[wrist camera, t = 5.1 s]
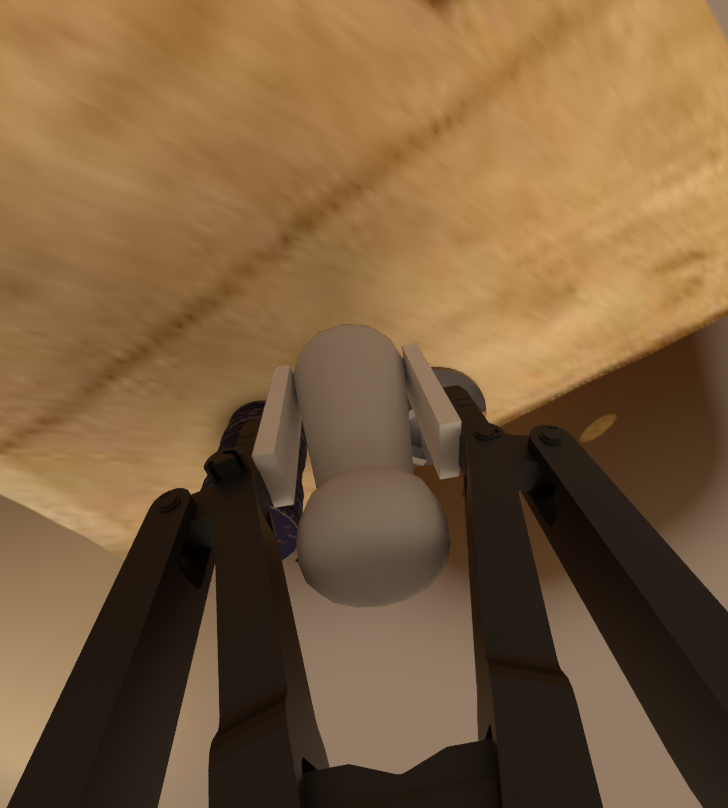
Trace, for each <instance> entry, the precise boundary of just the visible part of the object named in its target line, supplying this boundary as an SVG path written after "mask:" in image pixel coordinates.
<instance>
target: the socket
mask: <svg viewBox="0 0 728 808" xmlns="http://www.w3.org/2000/svg"><path fill="white" fill-rule="evenodd" d="M431 369H432V371H433V372H434V374H435V376H436V378H437V379H438V381H439V383H440V385H441V386H442V388H443V387H449V386H455V385H459V386H460V387H462V388H464V389H465V390H467V392H468V393H469V395H470V396H471V398H472V399H473V400H474V402H475V404H476V405H477V406H478V408H479V409H480V411H481V412H482V414H483V415H484V417H485V416H486V412H487V411H486V405H485V400H484V397H483V394H482V393H481V391H480V389H479V388H478V386H477V385H476V384H475V383H474V382H473V381H472V380H471V379H470V378H469V377H468V376H466V375H464V374H463V373H461V372H458V371H456V370H452V369H449V368H442V367H431ZM407 400H408V412H409V424H410V435H411V447H412V459H413V466H423V465H431V464H434V463H433V460H432V458H431V455H430V453H429V450H428V447H427V445H426V442H425V440H424V437H423V435H422V432H421V429H420V427H419V424H418V422H417V419H416V417H415V414H414V411H413V409H412V406H411V404H410V401H409V399H408V396H407Z"/></svg>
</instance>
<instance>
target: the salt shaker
mask: <svg viewBox="0 0 728 808" xmlns="http://www.w3.org/2000/svg"><path fill="white" fill-rule="evenodd" d="M293 380H294V384H295V389H296V394H297V398H298V403H299V408H300V413H301V417H302V422H303V427H304V431H305V436H306V441H307V446H308V450H309V455H310V460H311V464H312V469H313V474H314V479H315V483H316V488H317V489H316V490H315V491H314V492H313V493H312V494H311V496H310V498H309V500H308V502H307V505H306V507H305V509H304V512H303V514H302V516H301V519H300V521H299V526H298V533H297V539H296V545H297V552H298V561H299V566H300V568H301V571H302V573H303V576H304V578H305V581H306V582H307V583H308V584H309V585H310V586H311V587H312V588H313V589H315V590H316V591H317V592H319V593H320V594H321V595H323V596H324V597H326V598H327V599H329V600H330V601H332V602H333V603H337V604H342V605H347V606H352V607H379V606H385V605H389V604H393V603H397V602H400V601H404V600H408V599H409V598H411V597H413V596H415V595H417V594H419V593H420V592H422V591H424V590H426V589H428V588H429V587H430V586H431V584H432V583H433V582H434V581H435V580H436V578H437V577H438V576H439V575H440V574H441V572H442V570H443V568H444V567H445V565H446V563H447V561H448V555H449V546H450V538H449V531H448V525H447V519H446V517H445V514H444V512H443V510H442V508H441V506H440V503H439V501H438V500H437V499H436V497H435V496H434V495H433V493H432V492H431V491H430V489H429V488H428V487H427V486H426V484H425V483H424V482H423V481H422V480H421V479H420V478H419V477H417V476H415V475H414V472H413V459H412V447H411V435H410V424H409V412H408V400H407V388H406V376H405V364H404V360H403V358H402V357H401V355H400V354H399V352H398V350H397V349H396V347H395V345H394V344H393V342H392V341H391V340H390V339H389V338H388V337H386V336H384V335H383V334H381V333H379V332H378V331H376V330H375V329H373V328H371V327H370V326H364V325H351V324H342V325H339V326H336V327H333V328H330V329H327V330H324V331H321V332H318V333H317V334H316V335H315V336H314V338H313V339H312V340H311V341H310V342H309V343H308V344H307V345H306V346H305V347H304V348H303V349H302V351H301V352H300V354H299V358H298V361H297V364H296V367H295V370H294V373H293Z"/></svg>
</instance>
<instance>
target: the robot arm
mask: <svg viewBox="0 0 728 808" xmlns="http://www.w3.org/2000/svg"><path fill="white" fill-rule="evenodd" d="M402 351H403V360H404V364H405V376H406V388H407V396H408V399H409V401H410V404H411V406H412V409H413V411H414V414H415V417H416V419H417V422H418V424H419V427H420V429H421V432H422V435H423V437H424V440H425V442H426V445H427V447H428V450H429V453H430V455H431V458H432V460H433V463H434V465H435V468H436V471H437V473H438V476H439V478H440V479H444V478H450V477H456V476H459V466H460V468H461V470H462V472H463V474H464V476H463V497H464V503H465V519H466V532H467V533H466V534H467V547H468V564H469V579H470V594H471V608H472V623H473V638H474V654H475V669H476V684H477V721H478V741H477V742H471V743H466V744H460V745H454V746H449V747H446V748H444V749H443V750H441V751H439V752H438V753H437V754H435V755H433V756H432V757H430V758H428V759H426V760H425V761H423V762H422V763H420V764H418V765H417V766H415V767H413V768H412V769H410V770H409V771H407V772H405V773H403V774H392V773H387V772H383V771H378V770H374V769H369V768H364V767H360V766H355V765H350V764H347V765H342V766H337V767H331V768H329V763H328V759H327V755H326V751H325V748H324V744H323V741H322V739H321V736H320V733H319V730H318V727H317V723H316V719H315V715H314V710H313V705H312V700H311V696H310V691H309V686H308V682H307V678H306V672H305V668H304V663H303V658H302V653H301V649H300V644H299V639H298V635H297V630H296V625H295V621H294V616H293V611H292V606H291V602H290V597H289V592H288V588H287V584H286V578H285V573H284V569H283V564H282V559H281V555H280V550H279V545H278V541H277V536H276V531H275V526H274V522H273V517H272V514H271V512H270V510H269V505H270V499H271V501H272V503H273V505H274V507H275V508H276V507H281V506H287V505H293V504H294V499H295V488H296V477H297V466H298V456H299V445H300V434H301V423H302V417H301V413H300V408H299V403H298V398H297V394H296V389H295V384H294V380H293V373H292V370H291V366H290V365H285V366H279V367H275V370H274V373H273V377H272V381H271V385H270V389H269V392H268V396H267V400H266V404H265V408H264V411H263V415H262V419H259V420H253V421H248V422H247V423H246V424H245V425H244V426H243V427H242V429H241V430H240V433H239V436H238V439H237V442H236V446H235V448H226V449H222V450H220V451H218V452H216V453H214V454H213V455H212V456H210V457H209V458H208V460H207V461H206V462H205V465H204V469H205V471H206V473H207V475H208V476H209V478H210V480H211V481H212V483H213V485H212V486H210V487H208V488H206V489H204V490H202V491H199V492H197V493H194V494H192V495H191V494H190V493H189V491H188V490H187V489H184V488H176V489H173V490H170V491H168V492H166V493H164V494H162V495H161V496H160V497H158V498H157V499H156V500H155V501H154V502H153V504H152V505H151V507H150V508H149V511H148V513H147V515H146V517H145V519H144V521H143V523H142V525H141V527H140V529H139V531H138V534H137V536H136V538H135V540H134V542H133V544H132V546H131V548H130V550H129V552H128V555H127V557H126V559H125V561H124V563H123V565H122V567H121V569H120V571H119V574H118V576H117V578H116V580H115V582H114V584H113V586H112V589H111V590H110V592H109V594H108V597H107V599H106V601H105V603H104V605H103V607H102V609H101V611H100V613H99V616H98V618H97V619H96V622H95V624H94V626H93V628H92V630H91V632H90V634H89V636H88V638H87V641H86V643H85V645H84V647H83V649H82V651H81V653H80V655H79V657H78V660H77V661H76V664H75V666H74V668H73V670H72V672H71V674H70V676H69V678H68V680H67V682H66V685H65V687H64V689H63V691H62V693H61V695H60V698H59V699H58V701H57V703H56V706H55V708H54V710H53V712H52V714H51V716H50V718H49V720H48V722H47V724H46V726H45V729H44V731H43V733H42V735H41V737H40V739H39V741H38V743H37V745H36V747H35V749H34V751H33V754H32V756H31V758H30V760H29V762H28V764H27V766H26V768H25V770H24V773H23V775H22V777H21V779H20V781H19V783H18V785H17V787H16V789H15V792H14V794H13V796H12V798H11V800H10V802H9V804H8V806H7V808H157V807H158V803H159V799H160V795H161V790H162V786H163V782H164V778H165V773H166V769H167V765H168V761H169V756H170V752H171V748H172V744H173V739H174V735H175V731H176V727H177V722H178V718H179V714H180V709H181V705H182V701H183V697H184V693H185V688H186V684H187V679H188V675H189V671H190V667H191V663H192V658H193V654H194V650H195V646H196V642H197V637H198V633H199V628H200V625H201V620H202V616H203V612H204V607H205V603H206V599H207V595H208V590H209V586H210V582H211V578H212V573H213V569H214V565H215V566H216V602H217V636H218V637H217V639H218V675H219V711H220V719H219V728H218V732H217V733H216V735H215V737H214V738H213V740H212V743H211V747H210V752H209V769H208V771H209V808H603V805H602V801H601V797H600V793H599V789H598V785H597V781H596V777H595V774H594V769H593V765H592V761H591V757H590V754H589V750H588V745H587V741H586V738H585V734H584V729H583V725H582V721H581V718H580V713H579V709H578V705H577V702H576V699H575V695H574V692H573V688H572V686H571V684H570V682H569V679H568V677H567V676H566V675H565V674H564V673H563V671H561V669H560V666H559V663H558V660H557V656H556V652H555V648H554V643H553V639H552V635H551V631H550V626H549V622H548V618H547V613H546V609H545V605H544V600H543V597H542V592H541V587H540V583H539V579H538V574H537V571H536V566H535V562H534V557H533V553H532V549H531V544H530V541H529V536H528V531H527V527H526V523H525V519H524V514H523V511H522V506H521V501H520V498H519V493H518V491H521V493H522V494H523V496H524V498H525V499H526V501H527V503H528V505H529V507H530V508H531V510H532V512H533V514H534V515H535V517H536V519H537V521H538V523H539V524H540V526H541V528H542V530H543V532H544V533H545V535H546V537H547V539H548V540H549V542H550V544H551V545H552V547H553V549H554V551H555V553H556V554H557V556H558V558H559V560H560V562H561V563H562V565H563V567H564V569H565V570H566V572H567V574H568V576H569V578H570V579H571V581H572V583H573V585H574V586H575V588H576V590H577V592H578V594H579V595H580V597H581V599H582V601H583V602H584V604H585V606H586V608H587V609H588V611H589V613H590V615H591V617H592V618H593V620H594V622H595V623H596V625H597V627H598V629H599V631H600V633H601V634H602V636H603V638H604V640H605V641H606V643H607V645H608V646H609V648H610V650H611V652H612V654H613V656H614V657H615V659H616V661H617V663H618V664H619V666H620V668H621V670H622V671H623V673H624V675H625V677H626V678H627V680H628V682H629V684H630V686H631V687H632V689H633V691H634V692H635V694H636V696H637V698H638V700H639V701H640V703H641V705H642V707H643V708H644V710H645V712H646V714H647V716H648V717H649V719H650V721H651V723H652V725H653V726H654V728H655V730H656V732H657V733H658V735H659V737H660V739H661V741H662V742H663V744H664V746H665V748H666V749H667V751H668V753H669V755H670V756H671V758H672V760H673V761H674V763H675V764H676V766H677V768H678V769H679V771H680V773H681V774H682V776H683V778H684V779H685V781H686V782H687V784H688V786H689V788H690V789H691V791H692V792H693V794H694V795H695V796H696V798H697V799H698V801H699V802H700V804H701V805H702V807H703V808H728V612H727V611H726V609H725V608H724V607H723V606H722V605H721V604H720V603H719V601H718V600H717V599H716V598H715V597H714V596H713V595H712V594H711V592H710V591H709V590H708V589H707V588H706V587H705V586H704V585H703V584H702V582H701V581H700V580H699V579H698V578H697V577H696V576H695V574H694V573H693V572H692V571H691V570H690V569H689V568H688V566H687V565H686V564H685V563H684V562H683V561H682V560H681V559H680V557H679V556H678V555H677V554H676V553H675V552H674V551H673V550H672V548H671V547H670V546H669V545H668V544H667V543H666V542H665V541H664V539H663V538H662V537H661V536H660V535H659V534H658V533H657V531H656V530H655V529H654V528H653V527H652V526H651V525H650V523H649V522H648V521H647V520H646V519H645V518H644V517H643V516H642V515H641V514H640V512H639V511H638V510H637V509H636V508H635V507H634V506H633V504H632V503H631V502H630V501H629V500H628V499H627V498H626V497H625V495H624V494H623V493H622V492H621V491H620V490H619V489H618V487H617V486H616V485H615V484H614V483H613V482H612V481H611V479H610V478H609V477H608V476H607V475H606V474H605V473H604V472H603V470H602V469H601V468H600V467H599V466H598V465H597V464H596V462H595V461H594V460H593V459H592V458H591V457H590V456H589V455H588V454H587V452H586V451H585V450H584V449H583V448H582V447H581V446H580V445H579V443H578V442H577V441H576V440H575V439H574V438H573V436H572V435H571V434H569V433H568V432H567V431H565V430H564V429H562V428H559V427H556V426H551V425H540V426H537V427H534V428H533V429H532V430H531V431H530V435H529V436H523V435H510V434H505V433H504V432H503V430H502V429H501V428H499V427H498V426H496V425H494V424H491V423H489V422H488V421H487V419H486V418H485V417H484V415H483V414H482V412H481V411H480V409H479V408H478V406H477V405H476V404H475V402H474V400H473V399H472V398H471V396H470V395H469V393H468V392H467V390H465V389H464V388H462V387H460V386H459V385H455V386H449V387H443V388H442V386H441V385H440V383H439V381H438V379H437V378H436V376H435V374H434V372H433V371H432V369H431V367H430V365H429V364H428V362H427V360H426V358H425V357H424V355H423V353H422V351H421V350H420V348H419V346H418V344H417V343H416V344H410V345H404V346H402Z"/></svg>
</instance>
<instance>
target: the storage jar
mask: <svg viewBox="0 0 728 808" xmlns="http://www.w3.org/2000/svg"><path fill="white" fill-rule="evenodd" d="M265 404H266V400H263V401H254V402H251V403H248V404H246V405H244V406H242V407H240V408H239V409H238V410H237V411H236V412H235V413H234V414H233V416H232V417H231V419H230V422H229V424H228V427H227V428H226V430H225V431H224V434H223V436H222V439H221V441H220V446H219V449H218V451H220V450H222V449H226V448H235V446H236V442H237V439H238V436H239V433H240V430H241V429H242V427H243V426H244V425H245V424H246V423H247V422H248V421H253V420H259V419H262V415H263V411H264V408H265ZM218 451H217V452H218ZM306 457H307V441H306V436H305V431H304V427H303V422H302V423H301V434H300V445H299V456H298V466H297V477H296V488H295V499H294V504H293V505H287V506H281V507H276V508H275V507H274V505H273V503H272V501H271V499H270V505H269V510H270V512H271V514H272V517H273V522H274V526H275V531H276V536H277V541H278V545H279V550H280V555H281V559H282V560H284V559H285V558H287V557H288V556H290V555H291V554H292V553H293V552H294V551H295V549H296V548H297V545H296V539H297V533H298V526H299V521H300V519H301V516H302V513H303V499H304V492H303V485H302V473H303V471H304V468H305V462H306ZM212 485H213V483H212V481H211V480H210V478H209V476H207V477H206V479H205V480H204V482H203V485H202V488H201V490H200V491H202V490H204V489H206V488H208V487H210V486H212Z"/></svg>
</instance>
